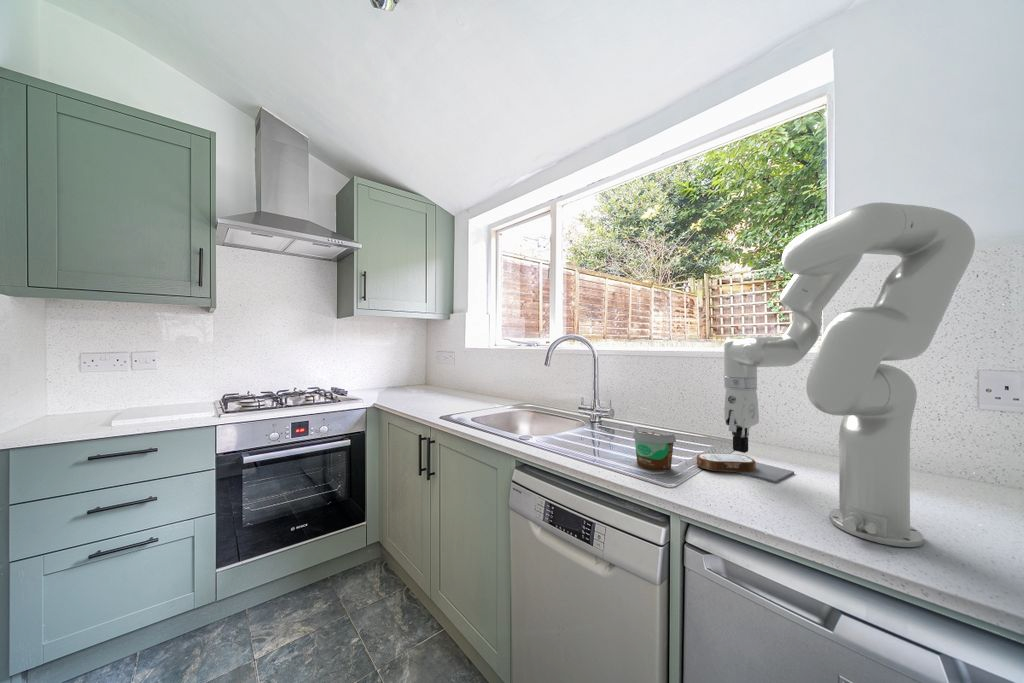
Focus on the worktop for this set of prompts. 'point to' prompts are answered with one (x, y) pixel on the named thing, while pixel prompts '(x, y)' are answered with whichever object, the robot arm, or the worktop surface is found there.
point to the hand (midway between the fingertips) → (740, 450)
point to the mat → (768, 473)
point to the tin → (726, 462)
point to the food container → (653, 450)
